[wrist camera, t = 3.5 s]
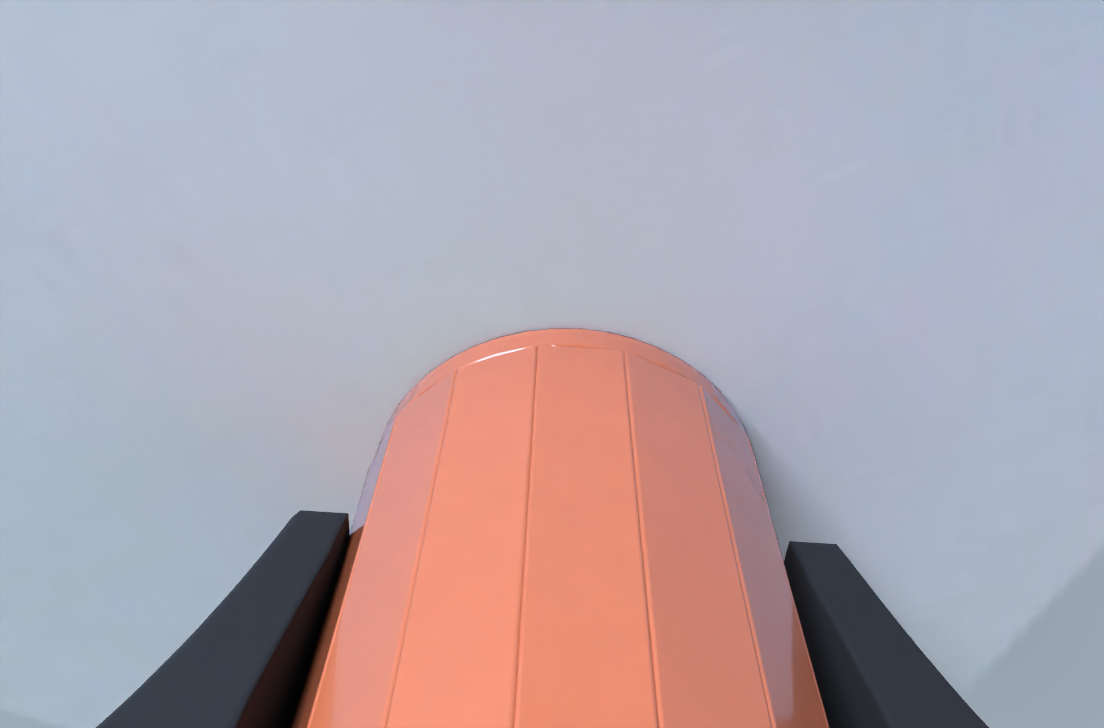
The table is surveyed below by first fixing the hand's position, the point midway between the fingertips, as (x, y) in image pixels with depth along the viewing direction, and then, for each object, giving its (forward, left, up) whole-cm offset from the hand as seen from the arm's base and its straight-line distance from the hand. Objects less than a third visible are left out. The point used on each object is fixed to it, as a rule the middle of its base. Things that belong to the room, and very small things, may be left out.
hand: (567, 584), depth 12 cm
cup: (0, 0, -2) cm, 2 cm away
